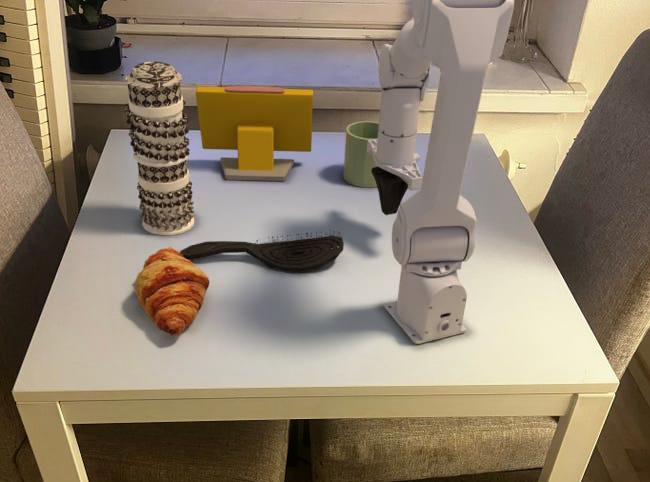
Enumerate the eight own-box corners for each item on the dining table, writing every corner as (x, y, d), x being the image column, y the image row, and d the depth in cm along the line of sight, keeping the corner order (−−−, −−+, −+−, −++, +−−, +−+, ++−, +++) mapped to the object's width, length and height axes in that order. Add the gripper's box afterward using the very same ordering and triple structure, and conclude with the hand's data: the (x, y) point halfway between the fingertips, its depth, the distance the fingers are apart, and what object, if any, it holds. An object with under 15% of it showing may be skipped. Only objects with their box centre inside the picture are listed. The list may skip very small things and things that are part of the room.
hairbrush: (180, 227, 118) (342, 222, 119) (184, 247, 121) (342, 243, 121) (174, 255, 112) (345, 250, 112) (178, 277, 114) (345, 271, 115)
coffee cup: (395, 183, 139) (401, 136, 133) (355, 190, 136) (358, 142, 130) (375, 165, 145) (379, 118, 139) (336, 171, 142) (338, 124, 136)
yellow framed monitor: (310, 163, 144) (313, 79, 134) (310, 182, 138) (313, 95, 128) (204, 160, 144) (198, 75, 134) (199, 179, 137) (193, 92, 127)
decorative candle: (135, 212, 127) (115, 58, 111) (191, 206, 130) (178, 54, 114) (143, 239, 120) (123, 80, 105) (201, 232, 123) (190, 75, 107)
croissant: (152, 281, 117) (121, 243, 112) (208, 250, 116) (179, 209, 111) (158, 366, 101) (122, 325, 96) (224, 330, 100) (191, 287, 95)
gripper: (446, 145, 109) (434, 229, 118) (398, 109, 120) (390, 188, 128) (402, 152, 107) (393, 237, 116) (357, 114, 117) (352, 195, 126)
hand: (389, 212), depth 122 cm, fingers closed
